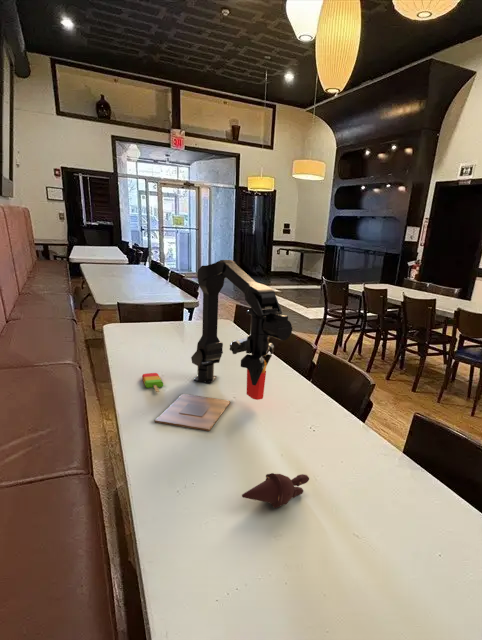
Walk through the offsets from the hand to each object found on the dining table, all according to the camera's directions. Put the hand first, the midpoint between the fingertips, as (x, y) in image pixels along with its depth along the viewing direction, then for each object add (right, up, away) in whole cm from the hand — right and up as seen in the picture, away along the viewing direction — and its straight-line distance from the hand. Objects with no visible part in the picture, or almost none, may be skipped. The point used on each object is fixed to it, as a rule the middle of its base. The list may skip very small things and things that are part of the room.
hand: (256, 381), depth 126 cm
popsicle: (-35, -2, +12) cm, 37 cm away
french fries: (-1, -5, +2) cm, 5 cm away
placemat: (-18, -9, -4) cm, 21 cm away
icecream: (+5, -26, -40) cm, 48 cm away
